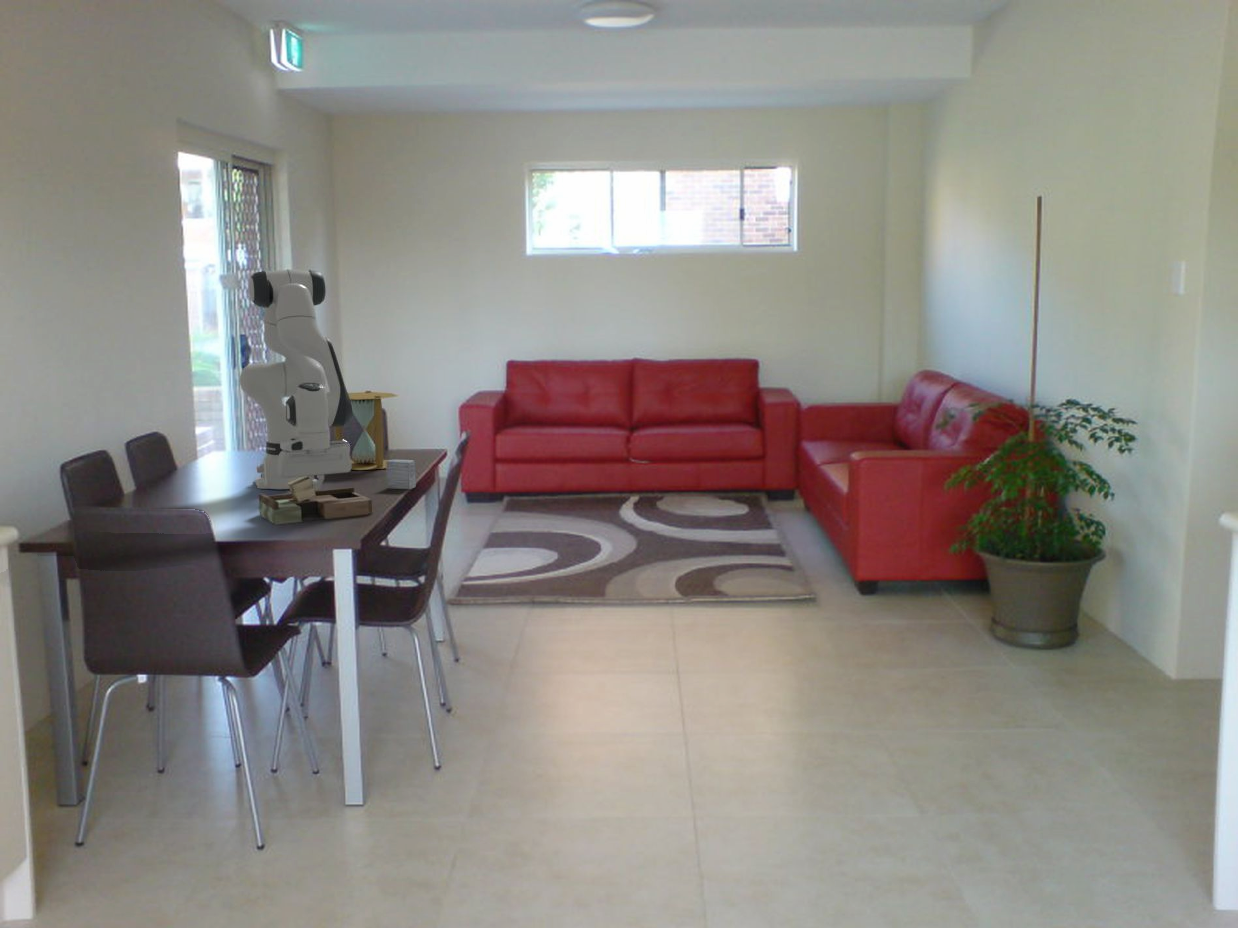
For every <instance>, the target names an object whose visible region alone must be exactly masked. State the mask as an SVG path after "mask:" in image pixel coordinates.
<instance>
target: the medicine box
mask: <svg viewBox="0 0 1238 928" xmlns="http://www.w3.org/2000/svg"><path fill="white" fill-rule="evenodd" d="M388 460H389V461H387V462H386V468H385V469H386V489H393V490H413V489H414V488H416V487H417V485H416V484H417V482H416V461H415V460H412V459H388Z"/></svg>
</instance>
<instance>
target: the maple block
mask: <svg viewBox="0 0 1238 928" xmlns="http://www.w3.org/2000/svg"><path fill="white" fill-rule="evenodd" d="M288 486H289V488H290V489H289V491H290V493H291V494H292V496H293V499H294V500H295V501H297V502H301V501H304V500H306V499H309V498H311V497H313V496H316V494H315V492H314V489H313V486H312V483H311V481H310V479H309V478H307V477H305V476H304V477H301V478H299V479H296V480H294V481H292V482H289V483H288Z"/></svg>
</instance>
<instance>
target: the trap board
mask: <svg viewBox="0 0 1238 928" xmlns="http://www.w3.org/2000/svg"><path fill="white" fill-rule="evenodd" d="M315 494H316V496H313V497H311V498H309V499H306V500H304V501H301V502H297V501H295V500H294V499H293V496H292V494H291V492H290V493H282V494H271V495H266V494H265V493H263V492H262V493H258V499H259V500H258V503H259V516H261V517H263V518H264V519H266V520H268V521H269V522H270V523H272V524H274V525H276V526H277V525H278V526H279V525H284V524H285V525H286V524H293V523H294V524H295V523H301V522H302V523H304V522H311V521H321V520H330V519H331V520H332V519H339V518H347V517H356V516H366V515H372V514H373V502H372V501H373V500H372V499H371V498H369V497H367V496H364V495H362V494H360V493H357V492H355V487H343V488H342V487H341V488H331V489H321V491H315Z"/></svg>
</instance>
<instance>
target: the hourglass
mask: <svg viewBox="0 0 1238 928" xmlns="http://www.w3.org/2000/svg"><path fill="white" fill-rule="evenodd" d="M348 395H349V398H350V400H351V403H352V407H353V415H354V417H355V419H356V420H357V422H358V423H359V424H360V427H361V428H362V429H363V431H362V432H361V435H360V436H359V438H358V439H357V441H356V444H355V445H354V447H353V449H352V452H351V453H352V454H351V470H355V471H356V470H357V471H364V470H366V471H367V470H376V469H377V470H383V469H386V462H387V461H389V460H390V459H384V429H383V428H384V427H383V406H382V405H383V403H382V399H386V398H388V399H389V398H393V397H399V395H398V394H394V393H391V392H389V393H388V392H376V391H372V390H366V391H364V392H362V391H361V392H348ZM343 427H344V426H343ZM343 427H333V429H334V440H344V434H343V433H344V429H343Z"/></svg>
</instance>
